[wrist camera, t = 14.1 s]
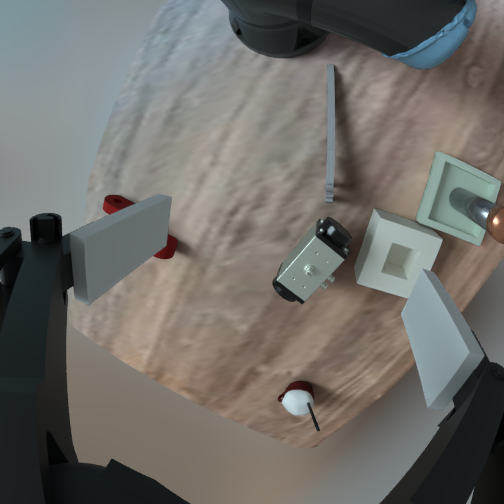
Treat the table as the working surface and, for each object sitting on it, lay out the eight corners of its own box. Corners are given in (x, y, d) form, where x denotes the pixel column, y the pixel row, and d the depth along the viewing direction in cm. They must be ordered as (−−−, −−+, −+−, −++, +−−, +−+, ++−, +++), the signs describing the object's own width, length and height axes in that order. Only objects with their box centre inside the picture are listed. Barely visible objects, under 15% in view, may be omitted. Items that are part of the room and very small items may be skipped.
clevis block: (374, 207, 43) (380, 218, 37) (430, 227, 41) (443, 239, 36) (353, 266, 47) (356, 283, 41) (407, 282, 45) (416, 300, 40)
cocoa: (280, 392, 61) (267, 436, 50) (281, 373, 58) (267, 419, 48) (323, 398, 58) (316, 443, 48) (327, 379, 56) (320, 426, 45)
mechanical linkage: (108, 225, 55) (92, 233, 51) (115, 192, 52) (99, 198, 48) (174, 262, 55) (162, 274, 50) (186, 229, 52) (173, 238, 47)
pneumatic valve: (279, 258, 49) (265, 294, 38) (325, 203, 44) (326, 225, 33) (306, 279, 49) (299, 319, 39) (353, 226, 45) (362, 255, 34)
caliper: (332, 198, 44) (333, 207, 38) (325, 198, 44) (325, 207, 39) (333, 65, 37) (335, 54, 31) (326, 64, 37) (326, 53, 31)
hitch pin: (452, 182, 38) (500, 204, 24) (471, 191, 37) (522, 216, 23) (444, 206, 39) (488, 237, 26) (464, 214, 39) (511, 248, 25)
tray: (435, 151, 37) (441, 152, 35) (494, 179, 36) (501, 181, 33) (415, 218, 42) (419, 223, 39) (473, 241, 40) (479, 246, 38)
